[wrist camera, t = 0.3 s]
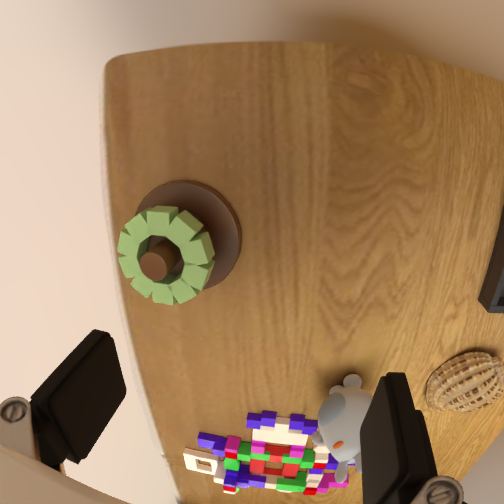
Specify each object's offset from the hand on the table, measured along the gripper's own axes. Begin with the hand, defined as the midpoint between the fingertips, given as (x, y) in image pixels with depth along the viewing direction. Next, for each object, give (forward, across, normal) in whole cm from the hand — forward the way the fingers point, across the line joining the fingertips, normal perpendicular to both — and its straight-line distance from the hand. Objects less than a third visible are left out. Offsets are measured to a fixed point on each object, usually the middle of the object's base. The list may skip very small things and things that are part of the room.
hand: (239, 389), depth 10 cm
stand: (+18, +8, +2) cm, 20 cm away
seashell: (+18, -22, +15) cm, 33 cm away
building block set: (+18, -1, +32) cm, 37 cm away
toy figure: (+18, -8, +17) cm, 26 cm away
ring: (+14, +8, +2) cm, 17 cm away
